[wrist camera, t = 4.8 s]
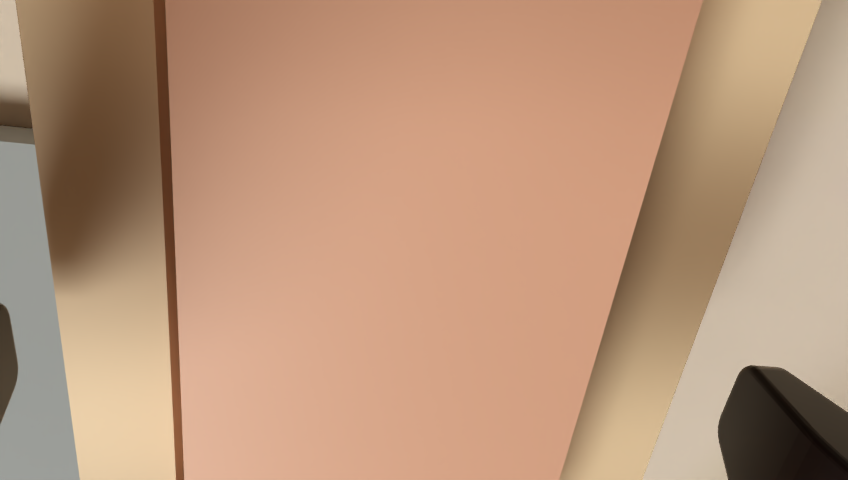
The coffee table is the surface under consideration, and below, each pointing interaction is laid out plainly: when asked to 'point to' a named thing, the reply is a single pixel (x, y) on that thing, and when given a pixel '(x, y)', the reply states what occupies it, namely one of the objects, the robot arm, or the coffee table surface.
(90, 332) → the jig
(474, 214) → the salmon orange block
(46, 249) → the mat
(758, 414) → the robot arm
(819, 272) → the coffee table surface
